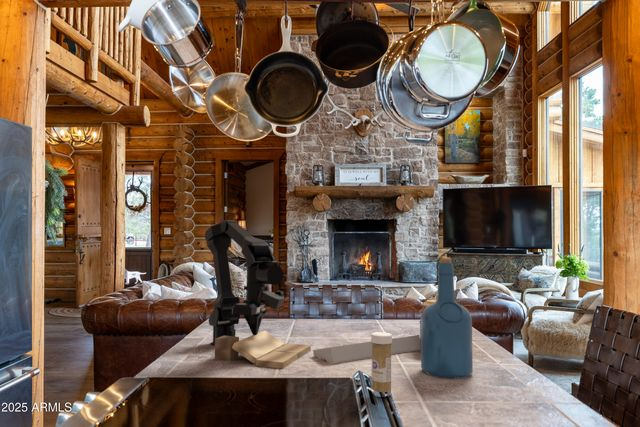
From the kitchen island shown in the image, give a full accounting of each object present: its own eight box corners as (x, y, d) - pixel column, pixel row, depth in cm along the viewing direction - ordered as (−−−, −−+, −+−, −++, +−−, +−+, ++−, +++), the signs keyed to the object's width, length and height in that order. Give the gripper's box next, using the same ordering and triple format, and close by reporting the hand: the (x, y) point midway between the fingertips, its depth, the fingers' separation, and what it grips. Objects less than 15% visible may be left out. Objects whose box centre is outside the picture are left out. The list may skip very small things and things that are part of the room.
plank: (231, 347, 128) (234, 342, 128) (262, 334, 147) (264, 330, 147) (254, 363, 126) (256, 358, 126) (282, 348, 145) (284, 343, 145)
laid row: (255, 365, 125) (256, 359, 125) (286, 348, 145) (286, 343, 146) (283, 368, 122) (283, 362, 122) (310, 350, 143) (310, 345, 143)
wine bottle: (416, 365, 126) (416, 256, 128) (465, 366, 126) (463, 257, 128) (426, 380, 113) (425, 258, 115) (480, 381, 112) (479, 258, 114)
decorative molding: (314, 366, 134) (333, 365, 127) (312, 350, 136) (331, 347, 128) (401, 352, 153) (422, 350, 145) (398, 338, 154) (419, 334, 146)
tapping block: (214, 360, 130) (215, 338, 131) (223, 356, 135) (223, 335, 135) (230, 361, 129) (230, 340, 129) (238, 357, 133) (239, 336, 134)
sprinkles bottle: (367, 395, 101) (367, 333, 102) (378, 390, 105) (378, 330, 105) (384, 400, 98) (384, 336, 99) (395, 394, 102) (395, 333, 102)
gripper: (267, 286, 127) (266, 343, 126) (292, 281, 145) (291, 331, 144) (231, 284, 130) (230, 340, 129) (260, 280, 148) (259, 328, 147)
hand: (255, 335), depth 137 cm, fingers closed
